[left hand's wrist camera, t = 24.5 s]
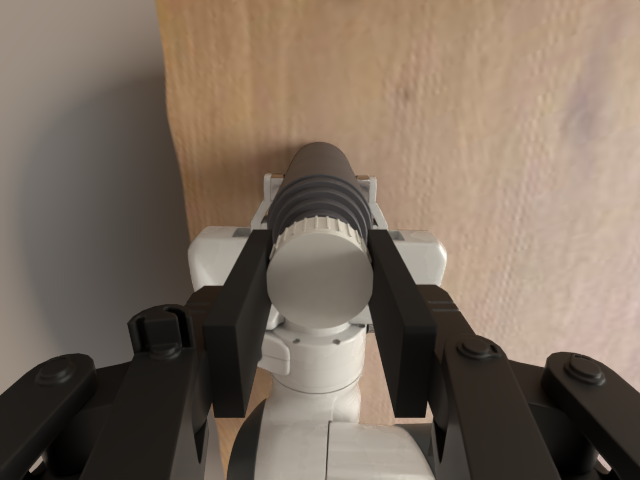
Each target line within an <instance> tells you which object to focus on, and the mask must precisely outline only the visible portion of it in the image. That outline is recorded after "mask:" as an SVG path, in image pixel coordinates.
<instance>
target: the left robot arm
mask: <svg viewBox="0 0 640 480" xmlns="http://www.w3.org/2000/svg"><path fill="white" fill-rule="evenodd" d="M272 248H273V238H272V229H253V230H252V232H251V234H250V236H249V238H248V240H247V241H246V243H245V245H244V247H243V249H242V251H241V253H240V255H239V256H238V258H237V260H236V262H235V264H234V266H233V268H232V270H231V272H230V273H229V275H228V277H227V279H226V281H225V283H224V285H205V286H203V287H202V288H200V289H199V290H197V291H196V292H194V293H193V294H192V295H191V297H190V298H189V300H188V301H187V304H186V305H185V306H181V305H178V304H165V305H160V306H154V307H152V308H149V309H146V310H143V311H141V312H140V313H138V314H137V315H135V316H133V317H132V318H131V320H130V321H129V322H128V323H127V324H128V329H129V333H130V338H131V342H132V346H133V351H134V357H133V359H132V361H130V362H126V363H123V364H118V365H114V366H109V367H104V368H99V369H95V365H94V362H93V359H92V358H90V357H89V356H88V355H84V354H79V353H77V354H66V355H61V356H59V357H54V358H51V359H49V360H47V361H45V362H43V363H41V364H39V365H37V366H36V367H34V368H33V369H31V370H30V371H28V372H27V373H26V374H25V375H23V376H22V377H21V378H20V379H19V380H18V381H16V382H15V383H14V384H13V385H12V386H11V387H9V388H8V389H7V390H6V391H5V392H4V393H3V394H1V395H0V480H204V472H205V463H206V454H207V445H208V436H209V430H208V423H207V415H208V412H209V409H210V407H211V404H212V403H213V410H214V417H215V418H245V414H246V410H247V406H248V402H249V398H250V393H251V389H252V385H253V381H254V377H255V372H256V368H257V364H258V360H259V356H260V352H261V347H262V343H263V339H264V335H265V331H266V326H267V322H268V318H269V314H270V310H271V305H272V302H271V300H270V298H269V296H268V292H267V275H266V274H267V269H268V265H269V262H270V259H269V257H270V254H271V251H272ZM367 248H368V251H369V254H370V257H371V260H372V263H371V266H372V269H373V289H372V295H371V298H370V300H369V302H368V306H369V311H370V315H371V319H372V323H373V327H374V332H375V336H376V340H377V344H378V348H379V352H380V357H381V361H382V365H383V369H384V373H385V378H386V382H387V386H388V390H389V394H390V399H391V403H392V407H393V411H394V415H395V418H425V416H426V408H427V401H428V403H429V405H430V408H431V411H432V414H433V423H432V430H431V436H430V443H429V450H428V456H433V453H434V462H435V471H436V480H640V393H639V392H638V391H636V390H635V389H634V388H633V387H632V386H631V385H629V384H628V383H627V382H626V381H625V380H624V379H622V378H621V377H620V376H619V375H618V374H617V373H615V372H614V371H613V370H611V369H610V368H609V367H607V366H606V365H604V364H603V363H601V362H599V361H596V360H594V359H592V358H590V357H588V356H585V355H581V354H577V353H571V352H558V353H553V354H551V355H550V356H549V357H548V358H547V360H546V364H545V368H544V367H539V366H534V365H529V364H524V363H520V362H516V361H512V360H508V358H507V356H506V354H505V353H504V351H503V350H502V349H501V347H500V346H498V345H497V344H495V343H494V342H493V341H491V340H489V339H486V338H484V337H482V336H478V335H476V334H475V333H474V331H473V330H472V328H471V327H470V325H469V324H468V322H467V321H466V319H465V318H464V317H463V315H462V314H461V312H460V311H459V309H458V308H457V306H456V305H455V303H453V300H452V299H451V297H450V296H449V294H448V293H447V292H446V291H445V290H443V289H442V288H440V287H439V286H437V285H436V284H416V283H415V281H414V280H413V278H412V276H411V274H410V272H409V270H408V268H407V266H406V264H405V263H404V261H403V259H402V257H401V255H400V253H399V251H398V249H397V248H396V246H395V244H394V242H393V240H392V238H391V236H390V234H389V232H388V231H387V229H368V233H367ZM599 454H600V455H601V456H602V457H603V458H604V460H605V461H606V462H607V463H608V464H609V465H610V467H611V468H612V469H611V471H610V472H609V471H608V470H607V469H606V468H605V467H604V466H603V465H602V464H601V463H600V462H599V461H598V459H597V457H598V455H599ZM40 456H42V458H43V461H42V462H41V464H40V465H39V466H38V467H37V468H36V469H35V470H34V471H33V472H32V473H30V472H29V469H30V468H31V467H32V465H33V464H34V463H35V462H36V461H37V460H38V458H39V457H40Z"/></svg>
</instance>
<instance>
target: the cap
mask: <svg viewBox="0 0 640 480" xmlns="http://www.w3.org/2000/svg"><path fill="white" fill-rule="evenodd" d="M269 259H270V262H269V265H268V269H267V274H266V275H267V292H268V296H269V298H270V300H271V302H272V304H273V305H274V307H275V308H276V309H277V310H278V312H279V313H280V314H281V315H283V316H284V317H285V318H286V319H288V320H289V321H291V322H293V323H295V324H297V325H300V326H303V327H307V328H312V329H328V328H334V327H337V326H340V325H343V324H345V323H347V322H349V321H351V320H352V319H354V318H355V317H356V316H358V315H359V314H360V313H361V312H362V311H363V309H364V308H365V307H366V305H367V304H368V302H369V300H370V298H371V295H372V289H373V269H372V266H371V263H372V260H371V257H370V254H369V251H368V248H367V247H366V245H365V242H364V239H363V238H362V239H361V237H360V236H359V235H358V232H357V230H354V229H352V228H351V227H350V226H349V224H348V223H347V224H345V223H343V222H341V221H340V220H339V219H337V220H336V219H333V218H329V216H326V217H318V216H315V217H312V218H304V220H301V221H299V222H294V224H293V225H292V226H290V227H289V228H285V231H284V232H283V233H282V235H281V236H280V235H279V236H278V239H277V242H276V244H274V245H273V248H272V251H271V254H270V257H269Z"/></svg>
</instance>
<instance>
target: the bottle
mask: <svg viewBox="0 0 640 480" xmlns="http://www.w3.org/2000/svg"><path fill="white" fill-rule="evenodd" d="M315 216H318V217H326V216H329V218H333V219H336V220H337V219H339V220H340V221H341V222H343V223H345V224H347V223H348V224H349V226H350V227H351V228H352V229H354V230H357V232H358V235H359V236H360V237H361V239H362V238H363V239H364V242H365V245H366V247H367V233H368V229H373V217H372V212H371V208H370V206H369V204H368V201H367V199H366V197H365V195H364V193H363V191H362V189H361V187H360V185H359V183H358V181H357V179H356V177H355V175H354V173H353V170H352V168H351V166H350V164H349V162H348V160H347V158H346V157H345V155H344V154H343V152H342V151H341V150H340V149H338V148H337V147H335V146H334V145H331V144H329V143H324V142H316V143H311V144H309V145H306V146H305V147H303V148H302V149H301V150H299V151H298V153H297V154H296V155H295V157H294V158H293V160H292V163H291V165H290V167H289V169H288V171H287V173H286V175H285V177H284V179H283V181H282V183H281V185H280V187H279V189H278V191H277V193H276V195H275V197H274V200H273V202H272V204H271V206H270V209H269V212H268V217H267V229H272V238H273V245H274V244H276V242H277V239H278V236H279V235H280V236H281V235H282V233H283V232H284V231H285V228H289V227H290V226H292V225H293V224H294V222H299V221H301V220H304V218H312V217H315Z"/></svg>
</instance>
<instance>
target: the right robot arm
mask: <svg viewBox="0 0 640 480" xmlns="http://www.w3.org/2000/svg"><path fill="white" fill-rule="evenodd" d="M284 177H285V174H272V173H266V174H265V176H264V199H263V201H262V203H261V204H260V206H259V208H258V210H257V212H256V213H255V215H254V217H253V219H252V220H251V222H250V226H251V227H241V226H207V227H205V228H204V229H203V230H202V231H201V232H200V233H199V234H198V235H197V236H196V237H195V238H194V239H193V241H192V242H191V244H190V246H189V249H188V262H189V268H190V275H191V280H192V284H193V288H194V292H196V291H197V290H199V289H200V288H202V287H203V286H205V285H224V283H225V281H226V279H227V277H228V275H229V273H230V272H231V270H232V268H233V266H234V264H235V262H236V260H237V258H238V256H239V255H240V253H241V251H242V249H243V247H244V245H245V243H246V241H247V240H248V238H249V236H250V234H251V232H252V230H253V229H267V217H268V215H266V216H265V214H266V212H267V210H268V209H269V207H270V205H271V203H272V202H273V200H274V197H275V195H276V193H277V191H278V189H279V187H280V185H281V183H282V181H283V179H284ZM355 177H356V179H357V181H358V183H359V185H360V187H361V189H362V191H363V193H364V195H365V197H366V199H367V201H368V204H369V206H370V208H371V212H372V215H373V217H374V219H373V229H387V231H388V232H389V234H390V236H391V238H392V240H393V242H394V244H395V246H396V248H397V249H398V251H399V253H400V255H401V257H402V259H403V261H404V263H405V264H406V266H407V268H408V270H409V272H410V274H411V276H412V278H413V280H414V281H415V283H416V284H436V285H437V286H439V287H440V285H441V282H442V279H443V275H444V271H445V267H446V262H447V252H446V249H445V248H444V246H443V245H442V243H441V242H440V241H439V240H438V238H437V237H436V236H435V235H434V234H433V233H431V232H430V231H427V230H388V224H387V222H386V220H385V218H384V216H383V214H382V212H381V210H380V208H379V206H378V204H377V202H376V201H375V200H376V187H377V180H376V177H375V176H355ZM367 333H375V332H374V327H373V323H372V319H371V315H370V311H369V306H368V304H367V305H366V307H365V308H364V309H363V311H362V312H361V313H360V314H359V315H358V316H356V317H355V318H354V319H352V320H351V321H349V322H347V323H345V324H343V325H340V326H337V327H334V328H328V329H312V328H307V327H303V326H300V325H297V324H295V323H293V322H291V321H289V320H288V319H286V318H285V317H284V316H283V315H281V314H280V313H279V312H278V310H277V309H276V308H275V307H274V305H273V304H272V305H271V310H270V314H269V318H268V322H267V326H266V331H265V335H264V339H263V343H262V347H261V352H260V356H259V360H258V364H257V367H260V368H263V369H265V370H267V371H270V374H271V377H272V386H271V389H270V394H269V399H264V400H263V401H262V402H261V403H260V404H259V405H258V406H257V407H256V408H255V409H254V411H253V412H252V413H251V414H250V415H249V417H248V418H247V419H246V420H245V422H244V423H243V425H242V426H241V428H240V430H239V432H238V434H237V437H236V439H235V442H234V445H233V448H232V452H231V456H230V460H229V465H228V471H227V480H436V471H435V462H434V453H433V456H428V450H429V443H430V436H431V430H432V423H424V424H395V425H393V426H389V425H375V424H361V423H358V422H359V415H360V405H361V395H360V390H359V386H358V382H359V379H360V377H361V375H362V371H363V367H364V355H365V343H366V334H367Z"/></svg>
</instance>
